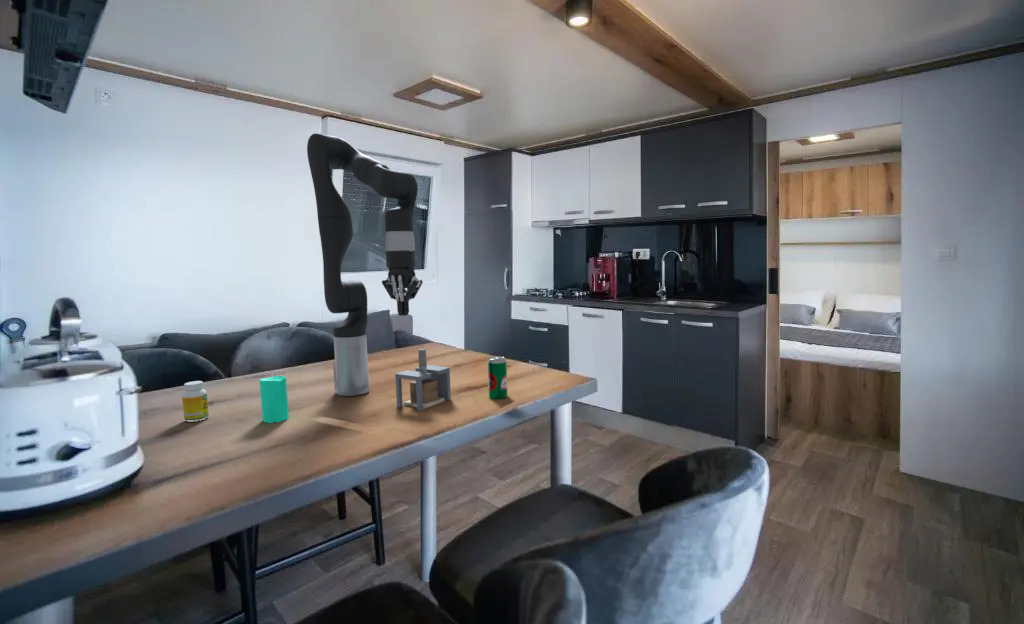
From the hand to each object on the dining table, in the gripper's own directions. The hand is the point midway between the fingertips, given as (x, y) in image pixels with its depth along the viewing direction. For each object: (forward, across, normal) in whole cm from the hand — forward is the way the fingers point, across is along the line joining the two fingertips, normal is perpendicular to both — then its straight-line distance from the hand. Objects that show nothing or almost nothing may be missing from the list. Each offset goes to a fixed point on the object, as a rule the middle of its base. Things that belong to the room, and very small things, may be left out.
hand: (403, 315), depth 135 cm
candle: (+24, -21, -25) cm, 41 cm away
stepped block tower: (+23, +6, 0) cm, 24 cm away
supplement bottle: (+24, -39, -35) cm, 58 cm away
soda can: (+24, +20, +14) cm, 35 cm away
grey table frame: (+24, +4, 0) cm, 25 cm away
